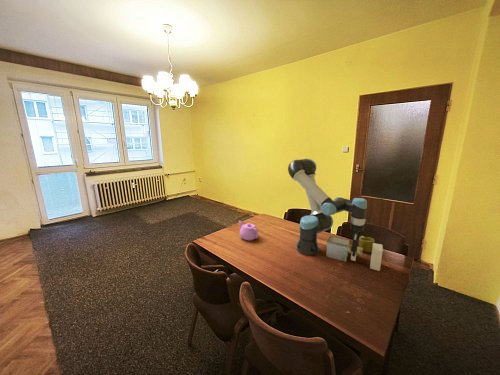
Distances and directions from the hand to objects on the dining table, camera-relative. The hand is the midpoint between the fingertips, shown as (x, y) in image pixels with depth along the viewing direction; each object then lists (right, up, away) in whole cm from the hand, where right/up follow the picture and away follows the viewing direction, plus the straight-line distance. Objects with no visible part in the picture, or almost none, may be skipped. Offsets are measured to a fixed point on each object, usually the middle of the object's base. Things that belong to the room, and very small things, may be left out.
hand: (353, 257), depth 131 cm
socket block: (+10, -3, -6) cm, 12 cm away
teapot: (-67, +5, +33) cm, 75 cm away
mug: (+15, +1, +14) cm, 21 cm away
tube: (-3, +3, +1) cm, 5 cm away
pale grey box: (-8, -1, +5) cm, 10 cm away
